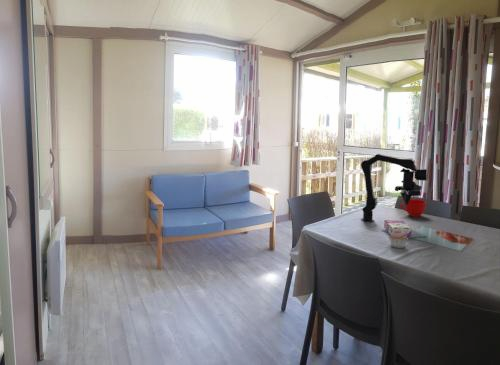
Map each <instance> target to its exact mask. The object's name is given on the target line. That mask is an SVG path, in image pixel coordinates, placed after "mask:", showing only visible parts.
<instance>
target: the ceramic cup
mask: <svg viewBox="0 0 500 365" xmlns="http://www.w3.org/2000/svg"><path fill="white" fill-rule="evenodd" d="M403 205H405V208H403ZM426 205H427V201H425V200H422V199H411V198H410V200H409V202H408V204H407V205H406V204H405V202H402V203H401V204H400V209H401V210H402V211H405V212H407V214H408V215H409V216H410V217H415V218H417V217H420V216H422V215H423V213H424V212H425V209H426Z"/></svg>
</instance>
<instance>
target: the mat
mask: <svg viewBox="0 0 500 365" xmlns="http://www.w3.org/2000/svg"><path fill="white" fill-rule="evenodd" d="M381 232H383V233H385V234H387V235H389V236H391V235H390V234H389V233H388V232H387V230H386V229H381ZM413 237H417V238H427V235H425V234H422V233H421V232H418V231H416V230H414V229H412V230H411V236H407V237H406V238H408V239H414V238H413Z"/></svg>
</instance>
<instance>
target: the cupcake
mask: <svg viewBox="0 0 500 365" xmlns="http://www.w3.org/2000/svg"><path fill="white" fill-rule="evenodd" d="M406 237H407V235H406V234H405V233H404V232H403V231H401V229H400V228H397V229H395V230H394V231H393V232H392V233H391V235H389V237H388V238H389V241H390V246H391V247H392V248H394V249H404V248H405V246H406V243H407V241H408V239H409V238H406Z"/></svg>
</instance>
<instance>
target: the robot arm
mask: <svg viewBox="0 0 500 365" xmlns="http://www.w3.org/2000/svg"><path fill="white" fill-rule="evenodd" d="M378 161H379V162H384V163H388V164H394V165H397V166H400V167H401V168H402V169H401V170H400V171H399V172H401V173H403V176H402V178H403V179H402V180H401V183H402V185H395V187H394V191H396V192H399V191H400V192H399V194H400V195H401V197H402V199H403V203H405V204H406V205H407V204H408V202H409V200H410V199H411V198H412V197H416V196H421V195H422V194H421V192H422V191H421V190H422V186H421V185H419V184H417V183H416V181H428V180H427V178H428V169H427V168H426V169H425V168H424V169H421V168H417V166H416V165H415V164H416V163H415V160H414V159H412V158H399V157H394V156H389V155H384V154H381V153H377V154H375V155H374V156H373V157H371V158H370V159H365V160H363V161H361V164H360V166H361V169H362V173H363V176H364V181H365V183H364V184H365V188H366V189H365V190H366V201H365V202H366V203H365V206H364V207H363V208H361V210H362V218H360V220H361V221H363V222H364V223H365V222H375V220H374V219H373V210H375V209H376V208H377V205H378V204H379V202H378V197H375V195H374V194H375V193H374V188H373V187H374V186H373V179H372V170H373V169H372V168H373V164H375V163H377V162H378ZM414 179H415V180H416V181H414ZM405 204H404V205H405Z"/></svg>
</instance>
